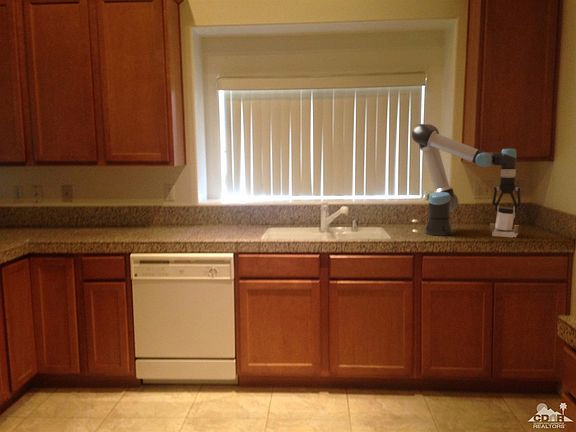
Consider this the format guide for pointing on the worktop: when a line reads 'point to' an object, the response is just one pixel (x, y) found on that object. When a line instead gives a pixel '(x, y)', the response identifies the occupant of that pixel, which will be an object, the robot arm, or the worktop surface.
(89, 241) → the worktop surface
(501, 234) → the cradle board
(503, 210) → the jar
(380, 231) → the worktop surface
